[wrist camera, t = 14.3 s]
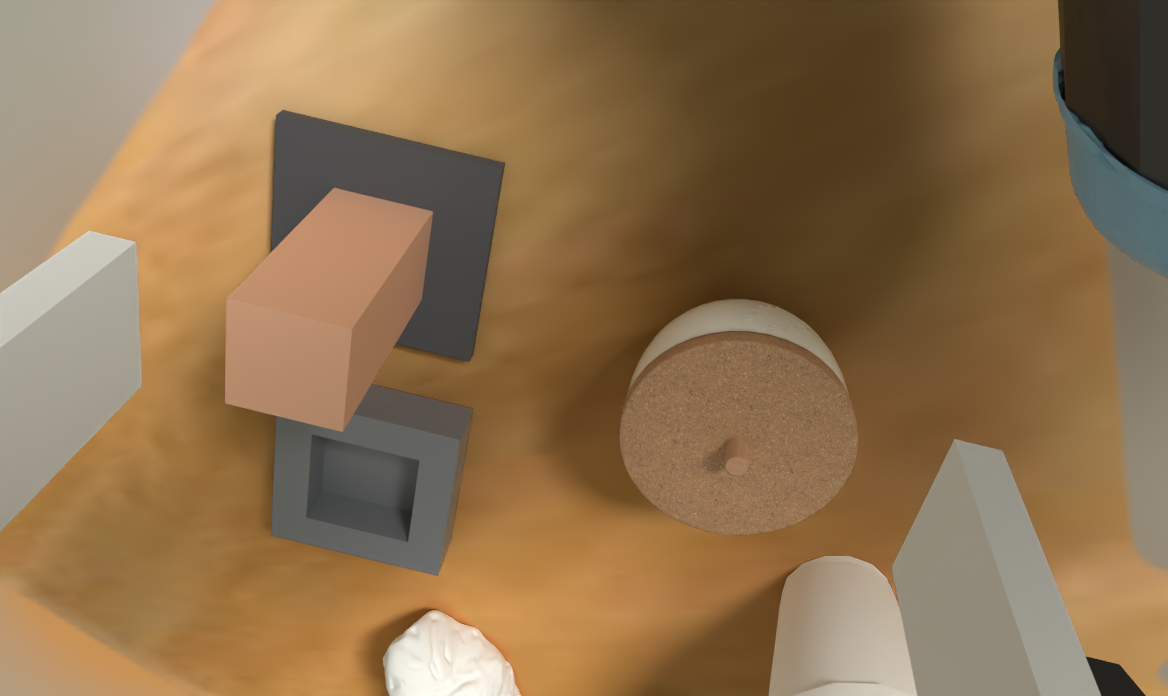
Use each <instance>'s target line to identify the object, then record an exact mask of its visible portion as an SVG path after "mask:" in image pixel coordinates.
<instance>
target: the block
mask: <svg viewBox="0 0 1168 696" xmlns="http://www.w3.org/2000/svg"><path fill="white" fill-rule="evenodd" d="M432 217H433V211H429V210H425V209H421V208H417V207H412V206H408V205H404V204H400V203H396V202H392V201H387V200H383V199H379V198H375V197H371V196H367V195H362V194H358V193H354V192H350V191H346V190H341V189H337V188H333V189H332V190H331V191H330V192H329V193H328V194H327V195H326V197H325V198H324V199H323V200H322V201H321V202H320V203H319V204H318V205H317V206H316V207H315V208H314V209H313V210H312V211H311V212H310V213H309V214H308V215H307V216H306V217H305V218H304V219H303V220H302V221H301V222H300V223H299V224H298V225H297V226H296V227H295V228H294V229H293V230H292V231H291V232H290V234H289V235H288V236H287V237H286V238H285V239H284V240H283V241H282V242H281V243H280V244H279V245H278V246H277V247H276V248H275V249H274V250H273V251H272V252H271V253H270V254H269V255H268V256H267V257H266V258H265V259H264V260H263V261H262V262H261V263H260V264H259V265H258V266H257V267H256V268H255V269H254V270H253V272H252V273H251V274H250V275H249V276H248V277H247V278H246V279H245V280H244V281H243V282H242V283H241V284H240V285H239V286H238V287H237V288H236V289H235V290H234V291H233V292H232V293H231V294H230V295H229V296H228V297H227V298H226V357H225V404H229V405H233V406H238V407H242V408H246V409H250V410H254V411H258V412H262V413H266V414H271V415H275V416H279V417H283V418H287V419H291V420H295V421H299V422H304V423H308V424H312V425H316V426H320V427H324V428H328V429H332V430H337V431H341V432H343V431H344V429H345V428H346V426H347V424H348V423H349V421H350V419H351V418H352V416H353V414H354V412H355V411H356V409H357V407H358V406H359V404H360V402H361V401H362V399H363V397H364V396H365V394H366V392H367V391H368V389H369V387H370V386H371V384H372V382H373V381H374V379H375V377H376V376H377V374H378V372H379V371H380V369H381V367H382V366H383V364H384V362H385V360H386V359H387V357H388V355H389V354H390V352H391V350H392V349H393V347H394V345H395V344H396V342H397V340H398V339H399V337H400V335H401V334H402V332H403V330H404V329H405V327H406V325H407V324H408V322H409V320H410V319H411V317H412V315H413V314H414V312H415V310H416V308H417V307H418V305H419V303H420V302H421V300H422V294H423V286H424V279H425V271H426V263H427V255H428V248H429V240H430V232H431V225H432Z"/></svg>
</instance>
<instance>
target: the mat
mask: <svg viewBox="0 0 1168 696" xmlns="http://www.w3.org/2000/svg"><path fill="white" fill-rule="evenodd" d="M504 166H505V163H502V162H498V161H494V160H490V159H486V158H482V157H477V156H473V155H469V154H465V153H461V152H456V151H452V150H448V149H444V148H440V147H435V146H431V145H427V144H423V143H419V142H415V141H410V140H406V139H402V138H398V137H394V136H389V135H385V134H381V133H377V132H373V131H368V130H364V129H360V128H356V127H352V126H348V125H343V124H339V123H335V122H331V121H327V120H322V119H318V118H314V117H310V116H306V115H301V114H297V113H293V112H289V111H285V110H282V111H281V112H280V113H278V114H277V115H276V137H275V164H274V190H273V216H272V242H271V252H272V251H273V250H274V249H275V248H276V247H277V246H278V245H279V244H280V243H281V242H282V241H283V240H284V239H285V238H286V237H287V236H288V235H289V234H290V232H291V231H292V230H293V229H294V228H295V227H296V226H297V225H298V224H299V223H300V222H301V221H302V220H303V219H304V218H305V217H306V216H307V215H308V214H309V213H310V212H311V211H312V210H313V209H314V208H315V207H316V206H317V205H318V204H319V203H320V202H321V201H322V200H323V199H324V198H325V197H326V195H327V194H328V193H329V192H330V191H331V190H332V189H333V188H337V189H341V190H346V191H350V192H354V193H358V194H362V195H367V196H371V197H375V198H379V199H383V200H387V201H392V202H396V203H400V204H404V205H408V206H412V207H417V208H421V209H425V210H429V211H433V217H432V225H431V232H430V240H429V248H428V255H427V263H426V271H425V279H424V286H423V294H422V300H421V302H420V303H419V305H418V307H417V308H416V310H415V312H414V314H413V315H412V317H411V319H410V320H409V322H408V324H407V325H406V327H405V329H404V330H403V332H402V334H401V335H400V337H399V339H398V340H397V342H396V344H399V345H403V346H407V347H411V348H415V349H419V350H423V351H428V352H432V353H436V354H440V355H444V356H448V357H452V358H457V359H461V360H465V361H469V362H470V360H471V358H472V356H473V353H474V347H475V341H476V335H477V329H478V323H479V316H480V310H481V304H482V298H483V292H484V286H485V280H486V274H487V268H488V262H489V256H490V250H491V244H492V238H493V232H494V226H495V220H496V214H497V208H498V202H499V196H500V190H501V184H502V178H503V172H504Z"/></svg>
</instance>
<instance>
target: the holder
mask: <svg viewBox="0 0 1168 696" xmlns="http://www.w3.org/2000/svg"><path fill="white" fill-rule="evenodd" d="M472 413H473V409H472V408H468V407H464V406H459V405H455V404H451V403H447V402H443V401H439V400H435V399H430V398H426V397H422V396H418V395H414V394H410V393H406V392H402V391H397V390H393V389H389V388H385V387H381V386H377V385H373V384H371V386H370V387H369V389H368V391H367V392H366V394H365V396H364V397H363V399H362V401H361V402H360V404H359V406H358V407H357V409H356V411H355V412H354V414H353V416H352V418H351V419H350V421H349V423H348V424H347V426H346V428H345V429H344V431H343V432H341V431H337V430H332V429H328V428H324V427H320V426H316V425H312V424H308V423H304V422H299V421H295V420H291V419H287V418H283V417H279V416H276V436H275V458H274V479H273V501H272V523H271V535H272V536H276V537H280V538H284V539H289V540H293V541H297V542H301V543H305V544H309V545H313V546H317V547H321V548H325V549H330V550H334V551H338V552H342V553H346V554H350V555H354V556H358V557H362V558H366V559H371V560H375V561H379V562H383V563H387V564H391V565H395V566H399V567H403V568H407V569H412V570H416V571H420V572H424V573H428V574H432V575H436V576H438V574H439V571H440V569H441V566H442V563H443V561H444V558H445V555H446V552H447V550H448V547H449V544H450V541H451V536H452V530H453V524H454V518H455V512H456V507H457V501H458V495H459V489H460V483H461V477H462V472H463V466H464V460H465V454H466V448H467V442H468V437H469V431H470V425H471V419H472Z"/></svg>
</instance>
